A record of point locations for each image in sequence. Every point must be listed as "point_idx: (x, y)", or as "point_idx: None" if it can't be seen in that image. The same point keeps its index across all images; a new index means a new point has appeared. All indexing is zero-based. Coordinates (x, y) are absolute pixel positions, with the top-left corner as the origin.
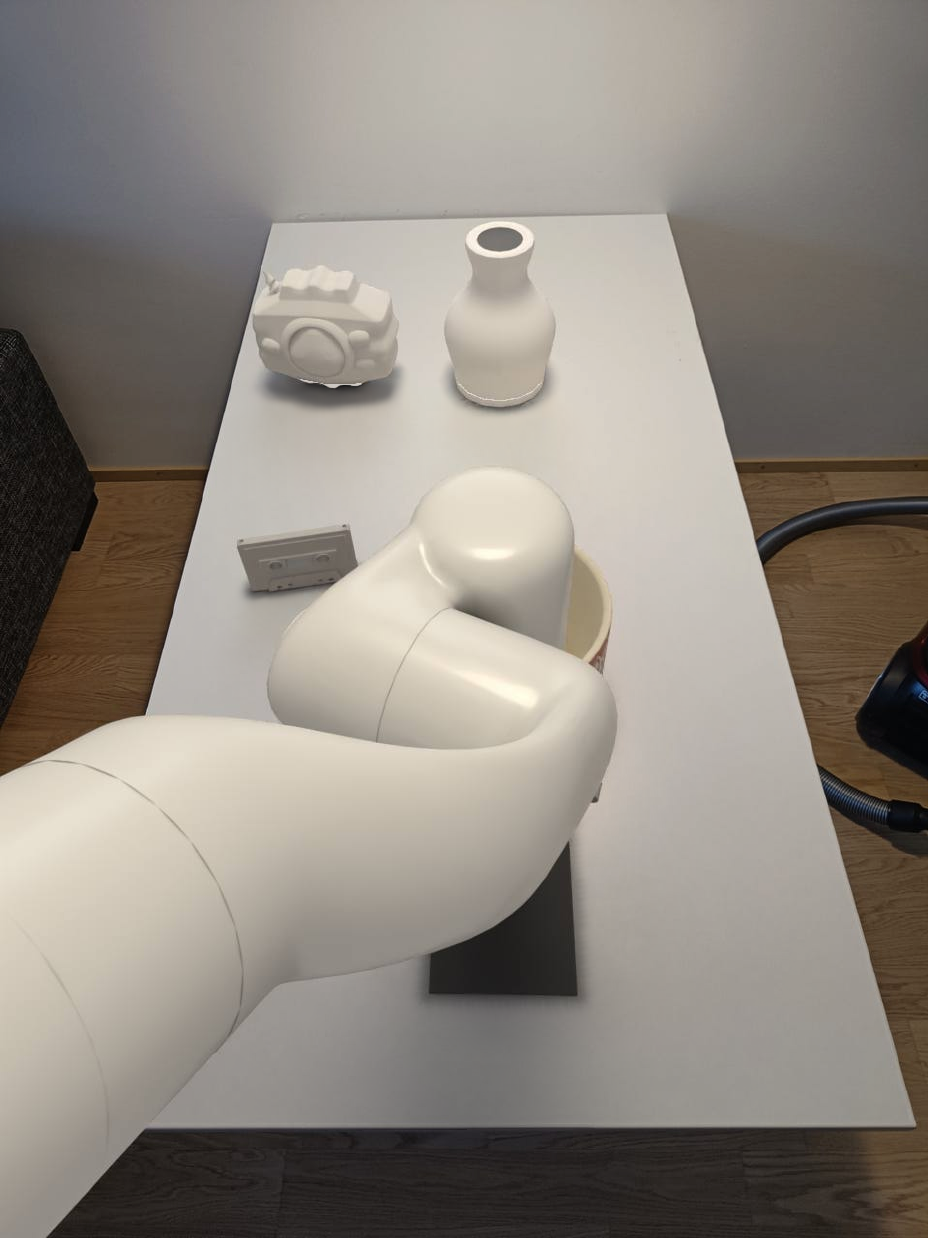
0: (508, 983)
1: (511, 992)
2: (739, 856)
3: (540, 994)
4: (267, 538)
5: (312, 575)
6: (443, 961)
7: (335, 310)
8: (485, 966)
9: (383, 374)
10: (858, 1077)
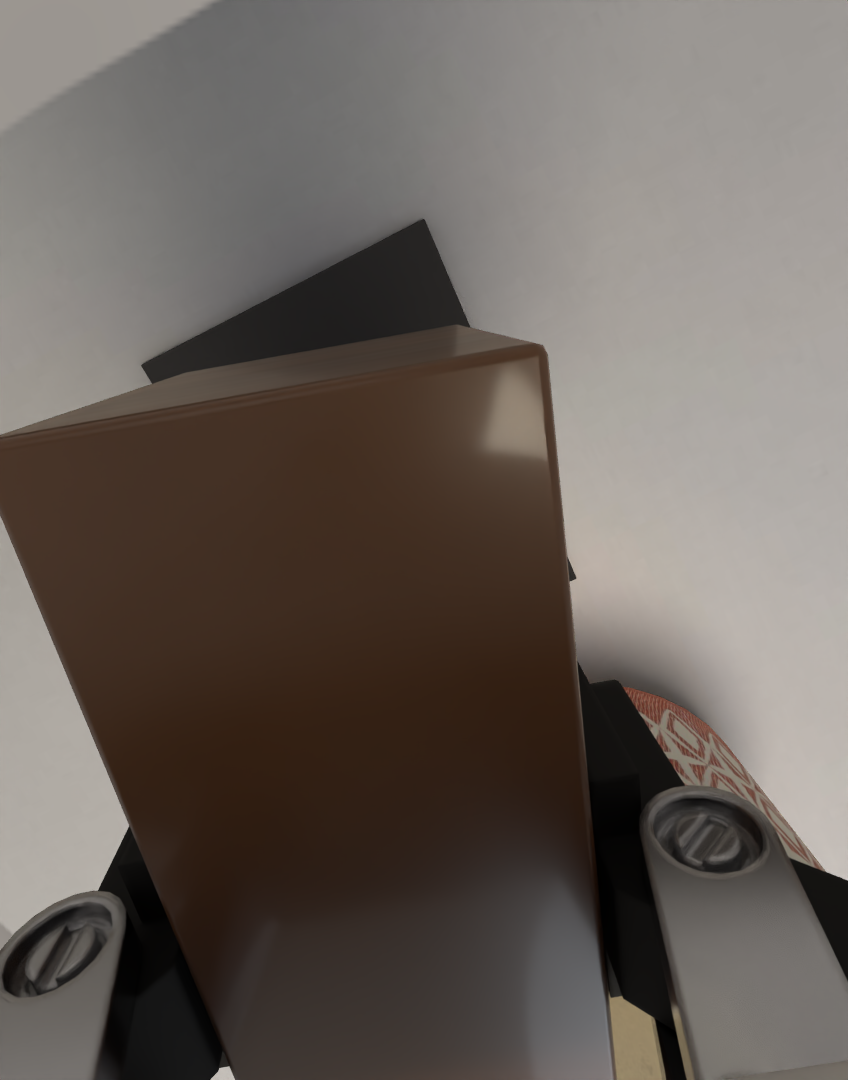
0: (279, 319)
1: (263, 304)
2: (13, 740)
3: (209, 330)
4: None
5: None
6: (425, 297)
7: None
8: (339, 329)
9: None
10: None
